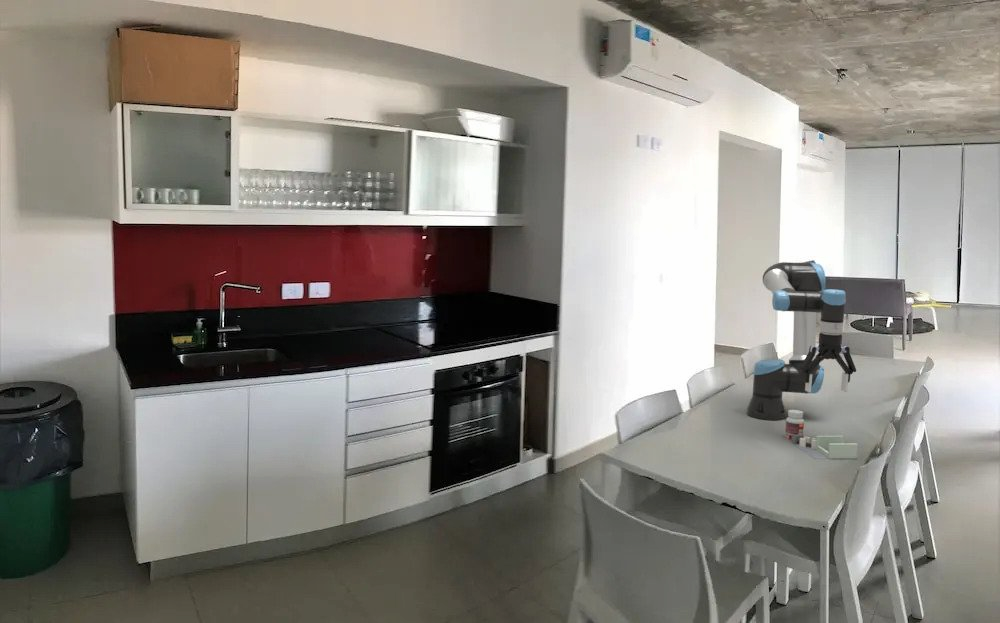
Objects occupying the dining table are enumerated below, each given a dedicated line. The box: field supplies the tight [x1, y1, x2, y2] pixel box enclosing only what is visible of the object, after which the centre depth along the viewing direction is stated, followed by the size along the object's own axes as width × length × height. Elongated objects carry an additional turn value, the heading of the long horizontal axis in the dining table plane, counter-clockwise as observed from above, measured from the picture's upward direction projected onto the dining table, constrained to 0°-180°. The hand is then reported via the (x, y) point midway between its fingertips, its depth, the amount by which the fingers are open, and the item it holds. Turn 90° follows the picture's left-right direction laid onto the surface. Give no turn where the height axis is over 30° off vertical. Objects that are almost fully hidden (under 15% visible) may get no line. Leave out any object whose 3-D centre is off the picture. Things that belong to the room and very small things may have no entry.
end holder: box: [815, 435, 859, 460], centre depth 253 cm, size 10×10×5 cm
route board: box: [791, 434, 858, 460], centre depth 258 cm, size 19×15×4 cm
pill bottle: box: [784, 409, 805, 441], centre depth 270 cm, size 6×6×11 cm
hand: (825, 391), depth 263 cm, fingers open, 13 cm apart
